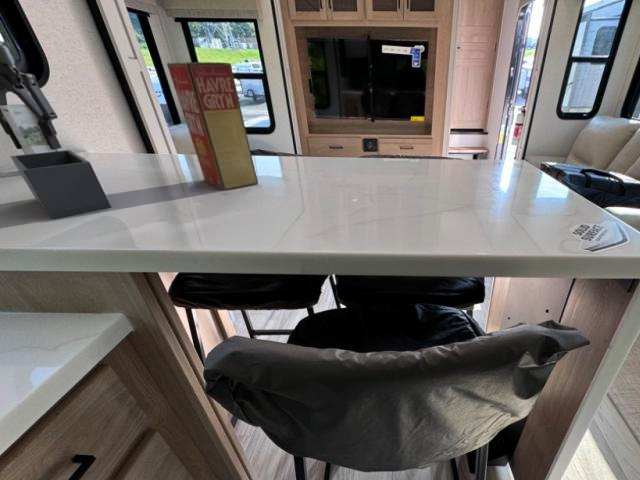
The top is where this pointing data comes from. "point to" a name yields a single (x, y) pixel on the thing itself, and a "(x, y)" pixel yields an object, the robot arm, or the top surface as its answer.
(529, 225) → the top surface
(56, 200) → the dark grey open box
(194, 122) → the food packaging
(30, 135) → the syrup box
